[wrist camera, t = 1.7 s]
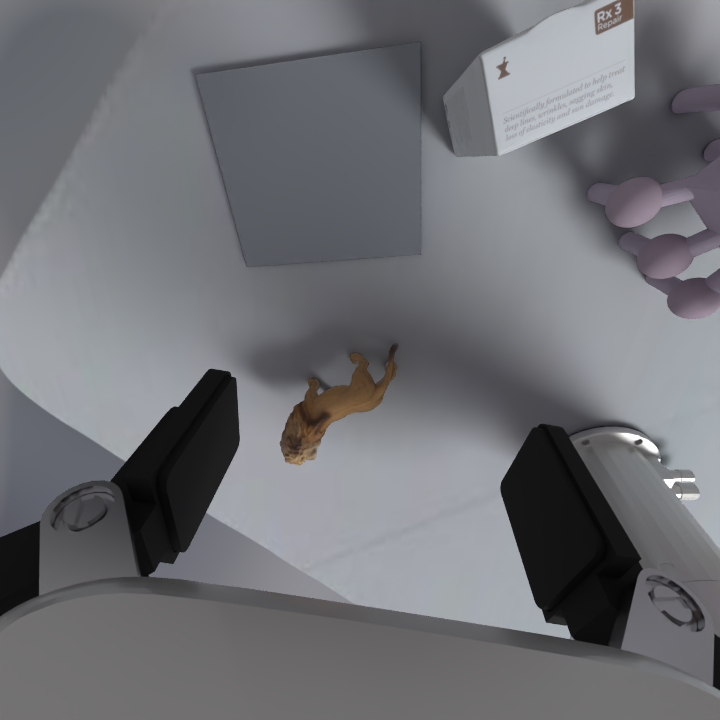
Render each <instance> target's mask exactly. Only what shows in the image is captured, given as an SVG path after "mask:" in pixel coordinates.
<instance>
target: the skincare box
mask: <svg viewBox="0 0 720 720" xmlns="http://www.w3.org/2000/svg"><path fill="white" fill-rule="evenodd" d="M634 97H635V77H634V0H586V1H584V2H582V3H580V4H578V5H576V6H574V7H572V8H568V9H565V10H562V11H560V12H557V13H555V14H553V15H551V16H549V17H547V18H545V19H544V20H542V21H541V22H539V23H538V24H536V25H535V26H533V27H531V28H528V29H526V30H524V31H522V32H520V33H518V34H516V35H514V36H512V37H510V38H508V39H506V40H504V41H502V42H500V43H498V44H496V45H495V46H493V47H491V48H488V49H486V50H484V51H483V52H481V53H480V54H479V55H478V56H477V57H476V58H475V59H474V61H473V62H472V63H471V64H470V65H469V66H468V68H467V69H466V70H465V71H464V72H463V74H462V75H461V76H460V77H459V78H458V79H457V81H456V82H455V83H454V84H453V85H452V86H451V87H450V88H449V90H448V91H447V92H446V93H445V94H444V96H443V103H444V107H445V112H446V117H447V122H448V126H449V131H450V135H451V140H452V145H453V149H454V153H455V156H457V157H468V156H470V157H475V156H501V155H504V154H506V153H508V152H510V151H513V150H515V149H517V148H520V147H522V146H524V145H527V144H529V143H531V142H534V141H536V140H538V139H541V138H543V137H545V136H548V135H550V134H553V133H555V132H557V131H560V130H562V129H564V128H567V127H569V126H571V125H574V124H576V123H579V122H581V121H583V120H586V119H588V118H590V117H593V116H595V115H597V114H600V113H602V112H604V111H606V110H609V109H611V108H613V107H616V106H618V105H620V104H622V103H624V102H627V101H630V100H632V99H634Z"/></svg>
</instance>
